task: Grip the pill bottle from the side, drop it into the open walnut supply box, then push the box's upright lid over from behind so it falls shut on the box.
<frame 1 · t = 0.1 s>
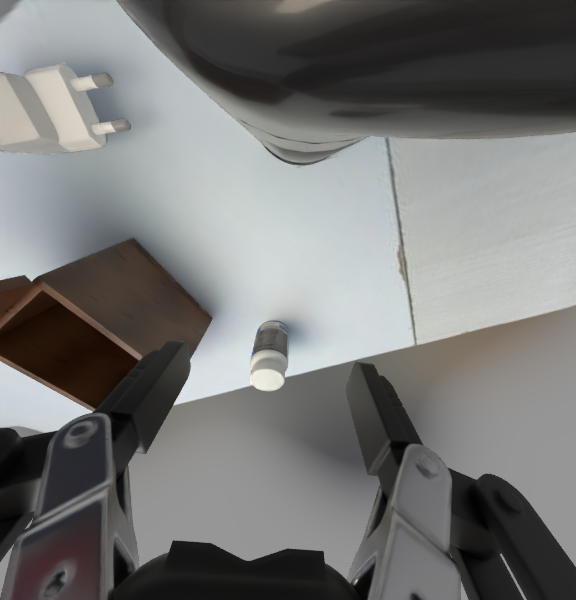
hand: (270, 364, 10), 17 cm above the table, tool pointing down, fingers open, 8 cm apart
pill bottle: (273, 332, 32), on the table
supply box: (146, 303, 29), on the table
power adapter: (91, 123, 19), on the table
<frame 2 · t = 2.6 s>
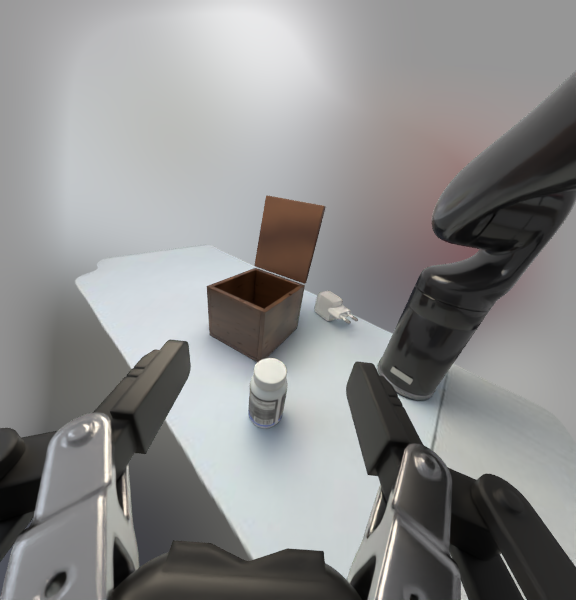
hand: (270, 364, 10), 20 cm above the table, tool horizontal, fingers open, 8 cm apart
lid: (286, 239, 42), point 18 cm above the table, hinge at 100.0°
pill bottle: (265, 413, 30), on the table
supply box: (256, 331, 45), on the table
power adapter: (332, 321, 53), on the table
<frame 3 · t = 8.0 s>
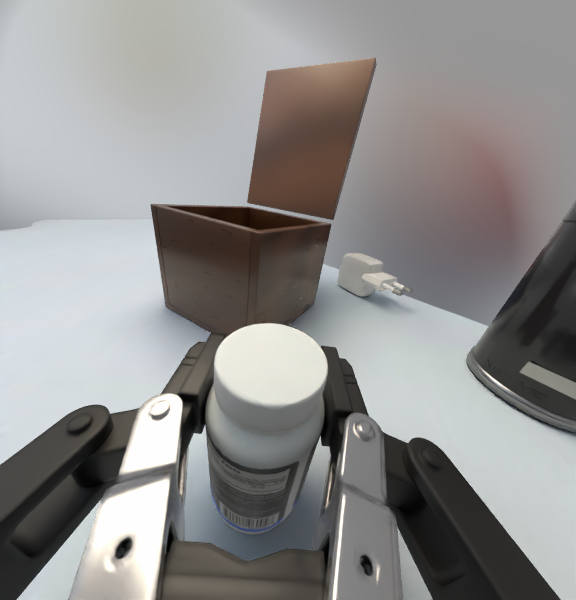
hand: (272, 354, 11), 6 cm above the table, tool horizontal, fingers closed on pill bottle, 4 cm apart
lid: (300, 145, 25), point 18 cm above the table, hinge at 100.0°
pill bottle: (256, 475, 11), on the table, touching gripper
supply box: (247, 305, 27), on the table
power adapter: (366, 297, 35), on the table
when the fingers open (15 cm above the table, at t = 14.8 s): pill bottle drops 8 cm, resting on supply box.
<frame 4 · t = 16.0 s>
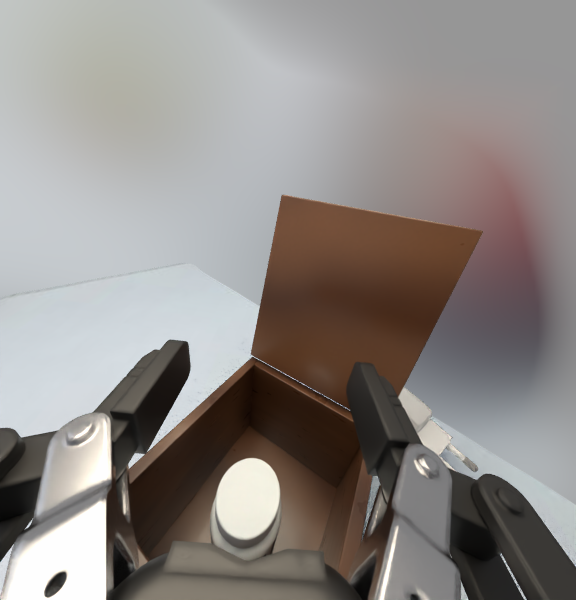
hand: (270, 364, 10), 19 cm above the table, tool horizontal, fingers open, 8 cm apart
lid: (333, 310, 16), point 18 cm above the table, hinge at 100.0°
pill bottle: (243, 544, 17), point 1 cm above the table, touching supply box
supply box: (254, 522, 19), on the table
power adapter: (405, 445, 27), on the table
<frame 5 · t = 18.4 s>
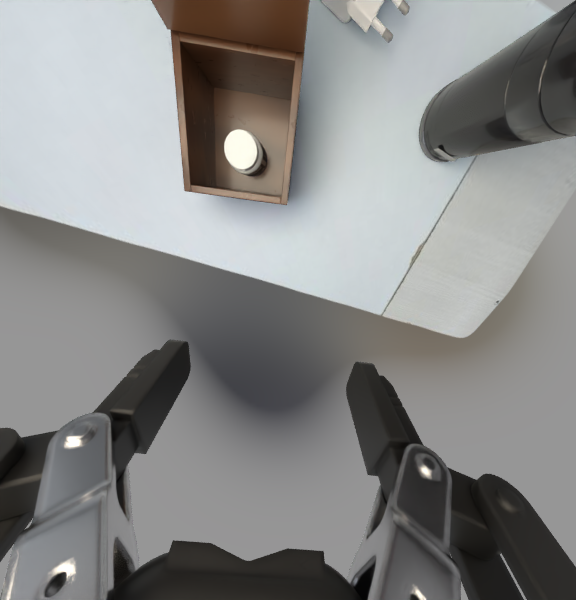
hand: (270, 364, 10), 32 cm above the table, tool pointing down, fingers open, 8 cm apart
pill bottle: (252, 159, 33), point 1 cm above the table, touching supply box
supply box: (252, 147, 33), on the table
power adapter: (353, 10, 26), on the table
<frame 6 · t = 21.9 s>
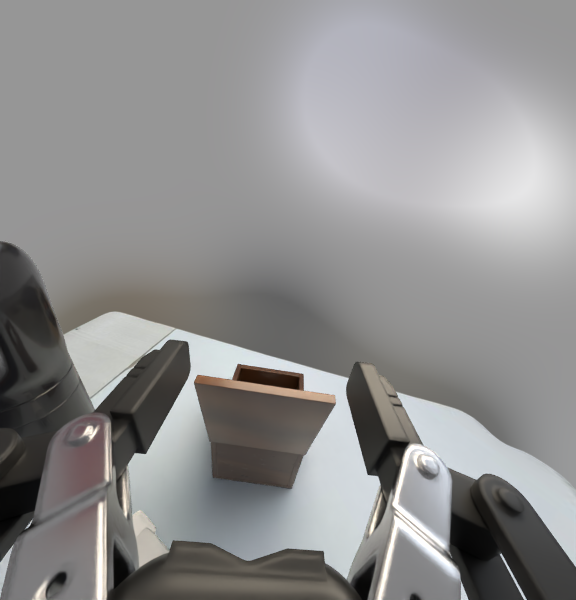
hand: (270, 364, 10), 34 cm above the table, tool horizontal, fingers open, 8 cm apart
lid: (261, 422, 23), point 18 cm above the table, hinge at 100.0°
supply box: (259, 438, 39), on the table
power adapter: (139, 561, 25), on the table
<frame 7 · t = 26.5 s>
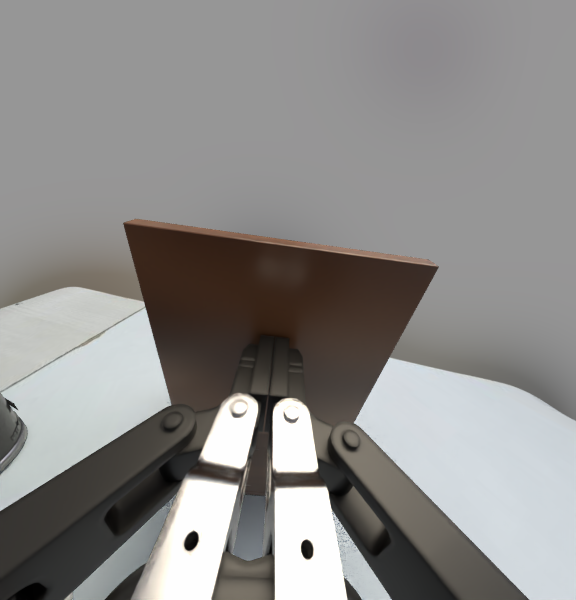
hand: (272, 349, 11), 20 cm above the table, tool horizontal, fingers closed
lid: (271, 363, 12), point 18 cm above the table, hinge at 94.5°, touching gripper
supply box: (262, 428, 27), on the table
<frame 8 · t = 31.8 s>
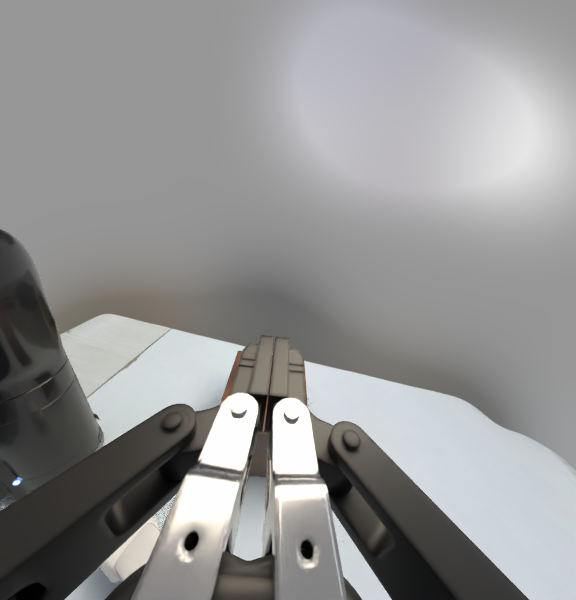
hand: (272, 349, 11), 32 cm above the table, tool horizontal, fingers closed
lid: (267, 387, 34), point 11 cm above the table, hinge at -0.2°
supply box: (261, 431, 39), on the table
power adapter: (142, 559, 24), on the table
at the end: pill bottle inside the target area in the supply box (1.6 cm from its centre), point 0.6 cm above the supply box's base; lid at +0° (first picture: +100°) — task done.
